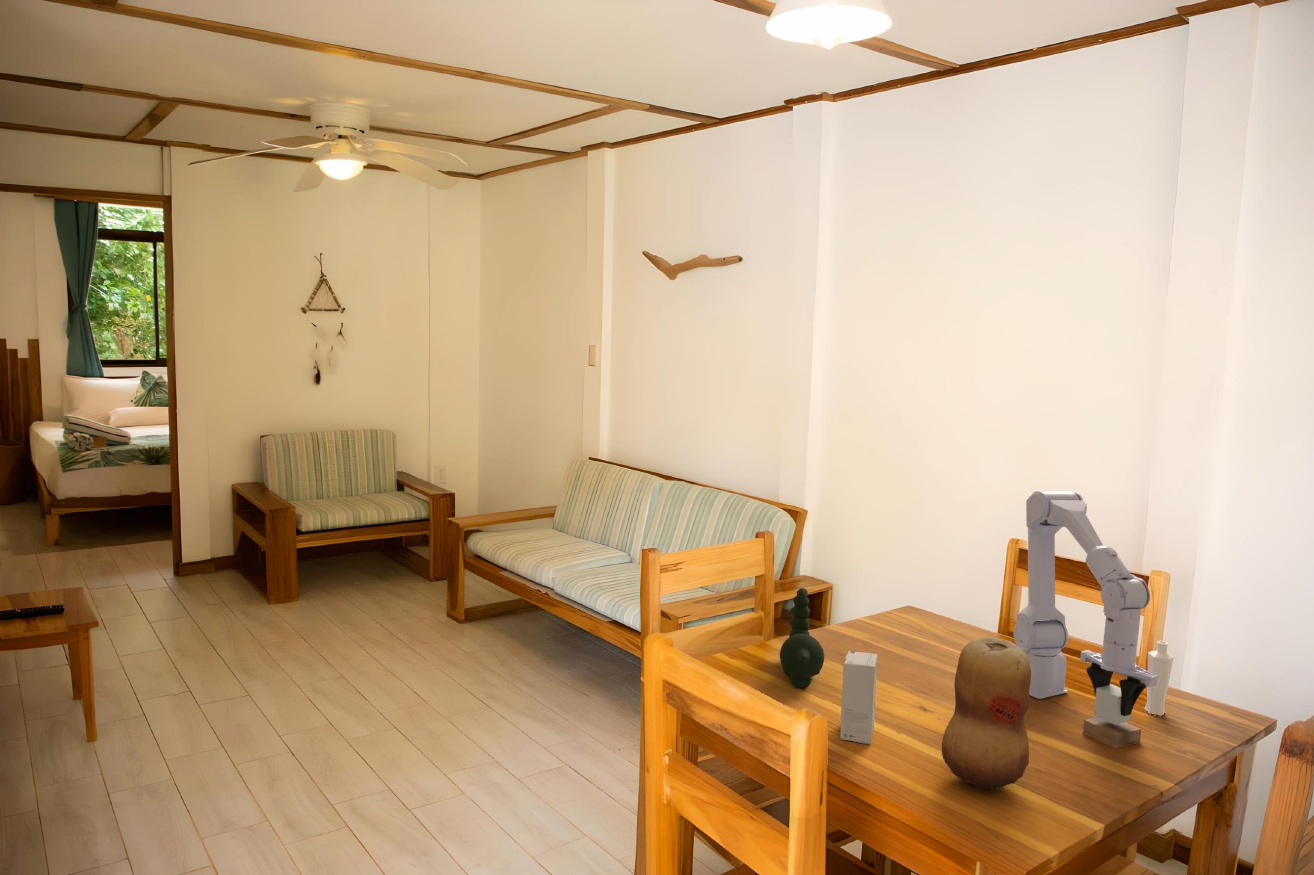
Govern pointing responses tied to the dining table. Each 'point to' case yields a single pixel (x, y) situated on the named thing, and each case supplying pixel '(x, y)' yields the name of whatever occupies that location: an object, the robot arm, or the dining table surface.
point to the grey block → (1109, 704)
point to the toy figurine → (801, 645)
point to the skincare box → (858, 697)
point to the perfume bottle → (1162, 668)
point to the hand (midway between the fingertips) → (1113, 709)
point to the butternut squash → (989, 714)
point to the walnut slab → (1112, 732)
